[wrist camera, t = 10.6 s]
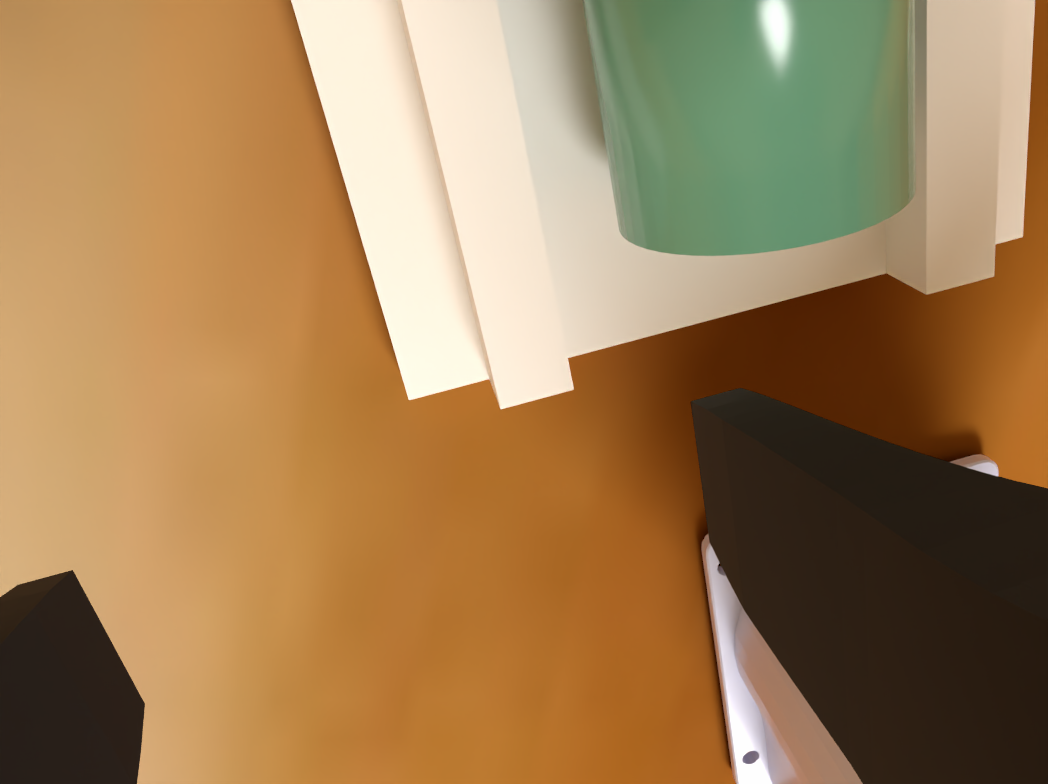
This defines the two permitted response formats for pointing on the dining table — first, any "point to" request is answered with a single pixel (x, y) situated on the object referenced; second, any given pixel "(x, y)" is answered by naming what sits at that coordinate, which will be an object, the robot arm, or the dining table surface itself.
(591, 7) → the green bottle
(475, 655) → the dining table surface
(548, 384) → the bottle cradle
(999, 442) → the dining table surface
